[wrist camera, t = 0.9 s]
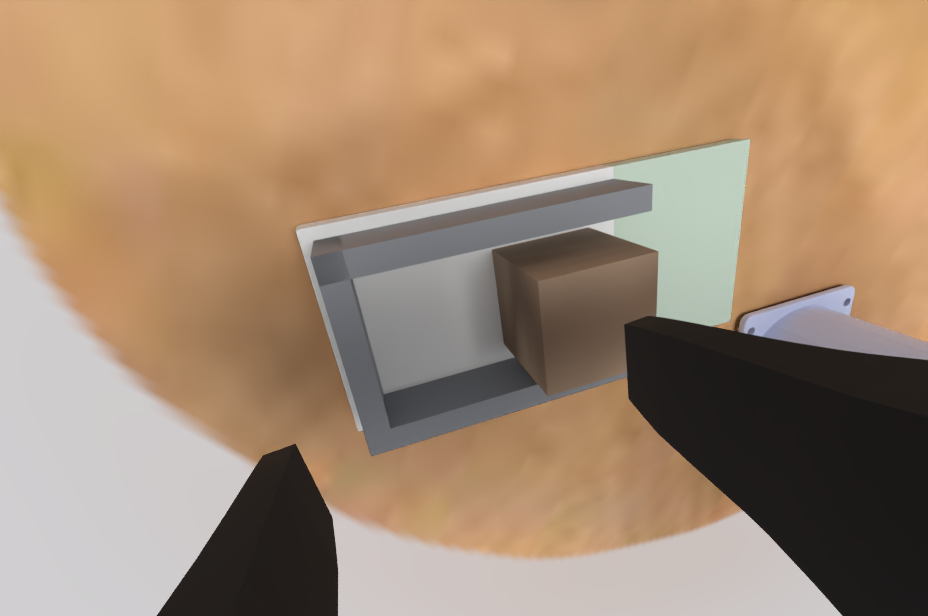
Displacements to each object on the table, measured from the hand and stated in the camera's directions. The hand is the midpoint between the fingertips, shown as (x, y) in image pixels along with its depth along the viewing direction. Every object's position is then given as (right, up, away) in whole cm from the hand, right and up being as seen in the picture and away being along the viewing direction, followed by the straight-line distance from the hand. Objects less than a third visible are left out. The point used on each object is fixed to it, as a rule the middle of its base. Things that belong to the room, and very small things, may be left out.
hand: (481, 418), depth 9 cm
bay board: (+4, +4, +11) cm, 13 cm away
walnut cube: (+3, +3, +10) cm, 11 cm away
